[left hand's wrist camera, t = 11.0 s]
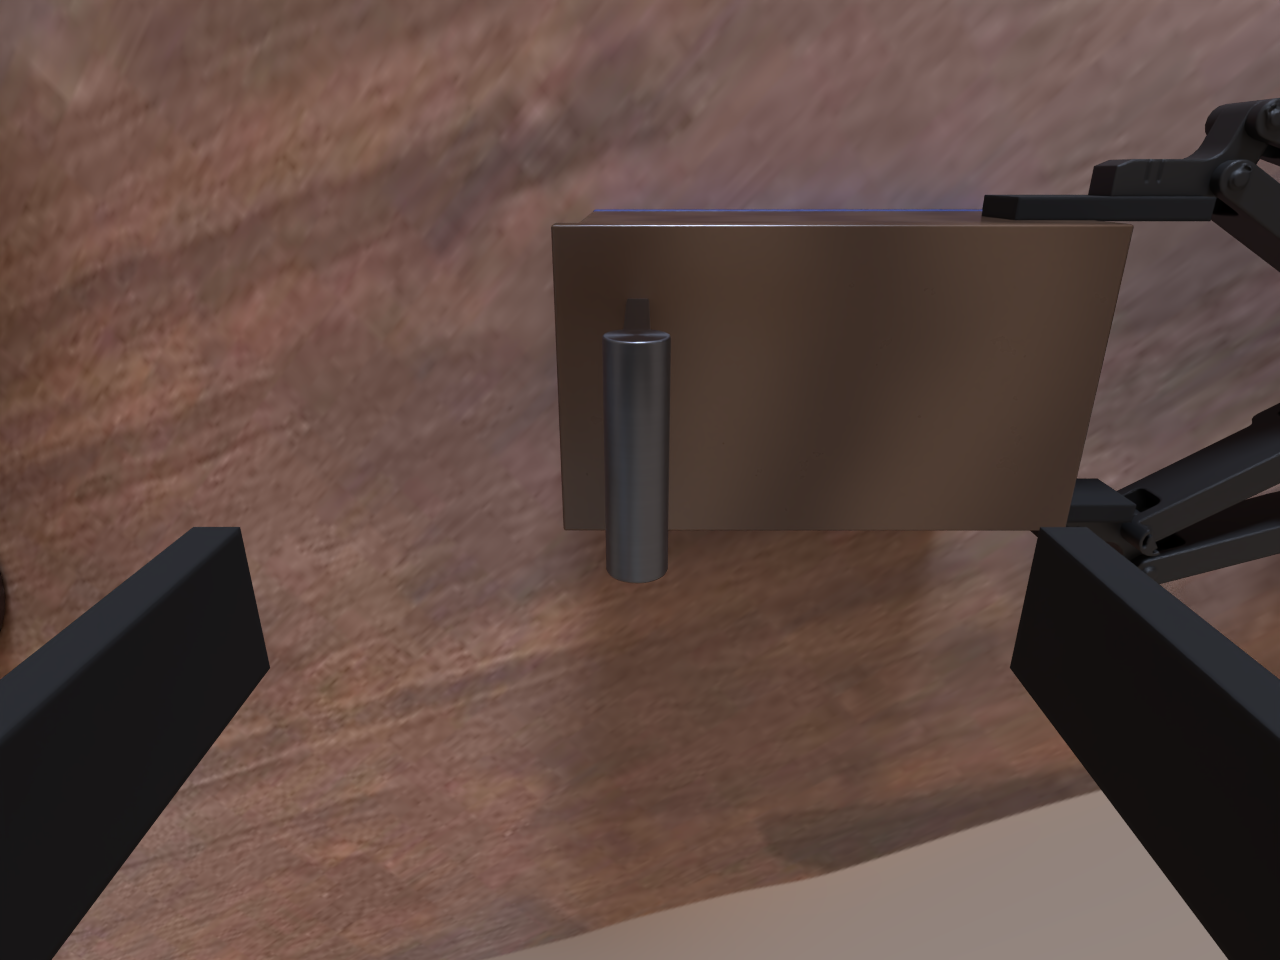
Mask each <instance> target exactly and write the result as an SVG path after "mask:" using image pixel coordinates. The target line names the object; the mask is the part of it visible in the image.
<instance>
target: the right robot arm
mask: <svg viewBox="0 0 1280 960" xmlns="http://www.w3.org/2000/svg"><path fill="white" fill-rule="evenodd" d="M1205 132H1206V134H1207V136H1206V138H1205V139H1204V141H1203V143H1202V144H1201V146H1200V147H1199V149H1198V150H1197V151H1196V152H1195V153H1193V154H1192V155H1190V156H1189V157H1187V158H1184V159H1127V160H1108V161H1106V162H1103V163H1101V164H1098V165H1096V166H1094V169H1093V174H1092V179H1091V184H1090V189H1089V193H1088V195H985V196H984V203H983V209H982V216H984V217H992V218H1000V219H1008V220H1094V221H1211V220H1212V221H1213V222H1215V223H1216V224H1217V225H1219V226H1220V227H1221V228H1223V229H1224V230H1225V231H1226V232H1228V233H1229V234H1230V235H1232V236H1233V237H1234V238H1236V239H1237V240H1238V241H1240V242H1241V243H1242V244H1244V245H1245V246H1246V247H1247V248H1249V249H1250V250H1251V251H1253V252H1254V253H1255V254H1257V255H1258V256H1259V257H1261V258H1262V259H1263V260H1265V261H1266V262H1267V263H1268V264H1270V265H1271V266H1272V267H1274V268H1275V269H1276V270H1278V271H1279V272H1280V184H1279V183H1278V182H1277V181H1276V180H1274V179H1273V178H1272V177H1271V176H1269V175H1268V174H1267V173H1266V172H1264V171H1263V170H1262V169H1261V168H1259V167H1258V166H1257V165H1256V164H1257V162H1258V161H1259V159H1262V160H1264V161H1267V162H1270V163H1272V164H1275V165H1278V166H1280V98H1274V99H1266V100H1257V101H1249V102H1241V103H1232V104H1225V105H1222V106H1219V107H1217V108H1216V109H1215V110H1213V111H1212V113H1211V114H1210V115H1209V117H1208V118H1207V121H1206V124H1205ZM1279 483H1280V403H1279V404H1277V405H1275V406H1273V407H1270V408H1268V409H1266V410H1264V411H1262V412H1260V413H1258V414H1257V415H1255V416H1254V417H1253V418H1252V424H1251V425H1250V426H1249V427H1247V428H1245V429H1242V430H1240V431H1238V432H1236V433H1234V434H1232V435H1230V436H1228V437H1226V438H1224V439H1222V440H1220V441H1218V442H1216V443H1214V444H1212V445H1210V446H1208V447H1206V448H1204V449H1202V450H1200V451H1198V452H1196V453H1194V454H1192V455H1190V456H1187V457H1185V458H1183V459H1181V460H1179V461H1177V462H1175V463H1173V464H1171V465H1169V466H1167V467H1165V468H1163V469H1161V470H1159V471H1157V472H1155V473H1153V474H1151V475H1149V476H1147V477H1145V478H1143V479H1141V480H1139V481H1137V482H1135V483H1132V484H1130V485H1128V486H1126V487H1124V488H1122V489H1120V490H1118V491H1115V490H1114V489H1112V488H1111V487H1109V486H1108V485H1106V484H1105V483H1103V482H1102V481H1100V480H1099V479H1076V483H1075V488H1074V492H1073V497H1072V501H1071V505H1070V510H1069V514H1068V519H1067V523H1066V527H1087V528H1088V529H1090V530H1091V531H1092V532H1094V533H1095V534H1096V535H1097V536H1099V537H1100V538H1101V539H1102V540H1104V541H1105V542H1106V543H1107V544H1109V545H1110V546H1111V547H1113V548H1114V549H1115V550H1116V551H1118V552H1119V553H1120V554H1121V555H1123V556H1124V557H1125V558H1126V559H1128V560H1129V561H1130V562H1131V563H1133V564H1134V565H1135V566H1137V567H1138V568H1139V569H1140V570H1142V571H1143V572H1144V573H1145V574H1147V575H1148V576H1149V577H1150V578H1152V579H1153V580H1154V581H1156V582H1157V583H1158V584H1162V583H1166V582H1170V581H1174V580H1177V579H1181V578H1185V577H1189V576H1193V575H1197V574H1201V573H1205V572H1209V571H1213V570H1217V569H1220V568H1224V567H1228V566H1232V565H1236V564H1240V563H1244V562H1248V561H1252V560H1256V559H1259V558H1263V557H1267V556H1271V555H1275V554H1279V553H1280V491H1278V492H1274V493H1269V494H1265V495H1262V496H1258V497H1254V498H1250V497H1252V496H1254V495H1256V494H1258V493H1260V492H1262V491H1264V490H1267V489H1269V488H1271V487H1273V486H1275V485H1277V484H1279ZM1248 498H1250V499H1248ZM1245 499H1246V500H1245ZM1030 531H1031V532H1032V533H1033V534H1035V535H1036V536H1037V537H1038V534H1039V530H1030Z"/></svg>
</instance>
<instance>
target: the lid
mask: <svg viewBox="0 0 1280 960" xmlns="http://www.w3.org/2000/svg"><path fill="white" fill-rule="evenodd" d="M551 232H552V257H553V281H554V305H555V330H556V354H557V378H558V403H559V427H560V451H561V475H562V500H563V524H564V530H606V569H607V571H608V573H609V574H610V576H612V577H613V578H615V579H617V580H620V581H623V582H628V583H646V582H651V581H654V580H657V579H659V578H661V577H662V576H663V575H664V574H665V573H666V571H667V569H668V530H1039V529H1040V527H1066V523H1067V519H1068V514H1069V510H1070V505H1071V501H1072V497H1073V492H1074V488H1075V483H1076V479H1077V475H1078V470H1079V466H1080V461H1081V457H1082V452H1083V448H1084V444H1085V439H1086V435H1087V430H1088V426H1089V422H1090V417H1091V413H1092V408H1093V404H1094V399H1095V395H1096V391H1097V386H1098V382H1099V377H1100V373H1101V369H1102V364H1103V360H1104V355H1105V351H1106V346H1107V342H1108V338H1109V333H1110V329H1111V324H1112V320H1113V316H1114V311H1115V307H1116V302H1117V298H1118V294H1119V289H1120V285H1121V280H1122V276H1123V271H1124V267H1125V263H1126V258H1127V254H1128V249H1129V245H1130V241H1131V236H1132V232H1133V225H1131V224H1123V223H555V224H553V225H552V227H551Z"/></svg>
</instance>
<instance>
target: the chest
mask: <svg viewBox="0 0 1280 960" xmlns="http://www.w3.org/2000/svg"><path fill="white" fill-rule="evenodd" d="M580 223H1114V222H1104V221H1094V220H1008V219H1000V218H992V217H984V216H982V210H594V211H593V213H591V214H590V215H589V216H588V217H586V218H585V219H584V220H583V221H581V222H580Z"/></svg>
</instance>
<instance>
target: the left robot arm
mask: <svg viewBox="0 0 1280 960" xmlns="http://www.w3.org/2000/svg"><path fill="white" fill-rule="evenodd" d="M4 609H5V597H4V587H3V582H2V577H1V573H0V630H1V627H2V623H3V618H4ZM269 669H270V665H269V661H268V656H267V651H266V647H265V642H264V637H263V633H262V628H261V623H260V618H259V614H258V609H257V604H256V600H255V595H254V590H253V586H252V581H251V576H250V572H249V567H248V562H247V558H246V553H245V548H244V543H243V539H242V534H241V529H240V527H193V528H192V529H190V530H189V531H188V532H186V533H185V534H184V535H183V536H181V537H180V538H179V539H178V540H176V541H175V542H174V543H173V544H171V545H170V546H169V547H167V548H166V549H165V550H164V551H162V552H161V553H160V554H159V555H157V556H156V557H155V558H154V559H152V560H151V561H150V562H149V563H147V564H146V565H145V566H143V567H142V568H141V569H140V570H138V571H137V572H136V573H135V574H133V575H132V576H131V577H130V578H128V579H127V580H126V581H124V582H123V583H122V584H121V585H119V586H118V587H117V588H116V589H114V590H113V591H112V592H111V593H109V594H108V595H107V596H106V597H104V598H103V599H102V600H100V601H99V602H98V603H97V604H95V605H94V606H93V607H92V608H90V609H89V610H88V611H87V612H85V613H84V614H83V615H81V616H80V617H79V618H78V619H76V620H75V621H74V622H73V623H71V624H70V625H69V626H68V627H66V628H65V629H64V630H62V631H61V632H60V633H59V634H57V635H56V636H55V637H54V638H52V639H51V640H50V641H49V642H47V643H46V644H45V645H44V646H42V647H41V648H40V649H38V650H37V651H36V652H35V653H33V654H32V655H31V656H30V657H28V658H27V659H26V660H25V661H23V662H22V663H21V664H19V665H18V666H17V667H16V668H14V669H13V670H12V671H11V672H9V673H8V674H7V675H6V676H4V677H3V678H2V679H1V680H0V960H52V958H53V957H54V956H55V954H56V953H57V952H58V950H59V949H60V948H61V946H62V945H63V944H64V942H65V941H66V940H67V938H68V937H69V936H70V934H71V933H72V932H73V930H74V929H75V928H76V926H77V925H78V924H79V922H80V921H81V920H82V918H83V917H84V916H85V914H86V913H87V912H88V910H89V909H90V908H91V906H92V905H93V904H94V902H95V901H96V900H97V898H98V897H99V896H100V894H101V893H102V892H103V890H104V889H105V888H106V886H107V885H108V884H109V882H110V881H111V880H112V878H113V877H114V876H115V874H116V873H117V872H118V870H119V869H120V868H121V866H122V865H123V864H124V862H125V861H126V860H127V858H128V857H129V856H130V854H131V853H132V852H133V850H134V849H135V848H136V846H137V845H138V844H139V842H140V841H141V840H142V838H143V837H144V836H145V834H146V833H147V832H148V830H149V829H150V828H151V826H152V825H153V823H154V822H155V821H156V819H157V818H158V817H159V815H160V814H161V813H162V811H163V810H164V809H165V807H166V806H167V805H168V803H169V802H170V801H171V799H172V798H173V797H174V795H175V794H176V793H177V791H178V790H179V789H180V787H181V786H182V785H183V783H184V782H185V781H186V779H187V778H188V777H189V775H190V774H191V773H192V771H193V770H194V769H195V767H196V766H197V765H198V763H199V762H200V761H201V759H202V758H203V757H204V755H205V754H206V753H207V751H208V750H209V749H210V747H211V746H212V745H213V743H214V742H215V741H216V739H217V738H218V737H219V735H220V734H221V733H222V731H223V730H224V729H225V727H226V726H227V725H228V723H229V722H230V721H231V719H232V718H233V717H234V715H235V714H236V713H237V711H238V710H239V709H240V707H241V706H242V705H243V703H244V702H245V701H246V699H247V698H248V697H249V695H250V694H251V693H252V691H253V690H254V689H255V687H256V686H257V685H258V683H259V682H260V681H261V679H262V678H263V677H264V675H265V674H266V673H267V671H268V670H269ZM1010 669H1011V670H1012V671H1013V673H1014V674H1015V675H1016V677H1017V678H1018V679H1019V681H1020V682H1021V683H1022V685H1023V686H1024V687H1025V689H1026V690H1027V691H1028V693H1029V694H1030V695H1031V697H1032V698H1033V699H1034V701H1035V702H1036V703H1037V705H1038V706H1039V707H1040V709H1041V710H1042V711H1043V713H1044V714H1045V715H1046V717H1047V718H1048V719H1049V721H1050V722H1051V723H1052V725H1053V726H1054V727H1055V729H1056V730H1057V731H1058V733H1059V734H1060V735H1061V737H1062V738H1063V739H1064V741H1065V742H1066V743H1067V745H1068V746H1069V747H1070V749H1071V750H1072V751H1073V753H1074V754H1075V755H1076V757H1077V758H1078V759H1079V761H1080V762H1081V763H1082V765H1083V766H1084V767H1085V769H1086V770H1087V771H1088V773H1089V774H1090V775H1091V777H1092V778H1093V779H1094V781H1095V782H1096V783H1097V785H1098V786H1099V787H1100V789H1101V790H1102V791H1103V793H1104V794H1105V795H1106V797H1107V798H1108V799H1109V801H1110V802H1111V803H1112V805H1113V806H1114V807H1115V809H1116V810H1117V811H1118V813H1119V814H1120V815H1121V817H1122V818H1123V819H1124V821H1125V822H1126V823H1127V825H1128V826H1129V828H1130V829H1131V830H1132V831H1133V833H1134V834H1135V835H1136V837H1137V838H1138V840H1139V841H1140V842H1141V844H1142V845H1143V846H1144V848H1145V849H1146V850H1147V852H1148V853H1149V854H1150V856H1151V857H1152V858H1153V860H1154V861H1155V862H1156V864H1157V865H1158V866H1159V868H1160V869H1161V870H1162V871H1163V873H1164V874H1165V876H1166V877H1167V878H1168V880H1169V881H1170V882H1171V884H1172V885H1173V886H1174V888H1175V889H1176V890H1177V891H1178V893H1179V894H1180V896H1181V897H1182V898H1183V900H1184V901H1185V902H1186V904H1187V905H1188V906H1189V908H1190V909H1191V910H1192V911H1193V913H1194V914H1195V916H1196V917H1197V918H1198V920H1199V921H1200V922H1201V924H1202V925H1203V926H1204V928H1205V929H1206V930H1207V932H1208V933H1209V934H1210V936H1211V937H1212V938H1213V940H1214V941H1215V942H1216V944H1217V945H1218V946H1219V948H1220V949H1221V950H1222V952H1223V953H1224V954H1225V956H1226V957H1227V958H1228V960H1280V680H1279V679H1278V678H1277V677H1276V676H1274V675H1273V674H1272V673H1271V672H1269V671H1268V670H1267V669H1266V668H1264V667H1263V666H1262V665H1261V664H1259V663H1258V662H1257V661H1255V660H1254V659H1253V658H1252V657H1250V656H1249V655H1248V654H1247V653H1245V652H1244V651H1243V650H1242V649H1240V648H1239V647H1238V646H1236V645H1235V644H1234V643H1233V642H1231V641H1230V640H1229V639H1228V638H1226V637H1225V636H1224V635H1223V634H1221V633H1220V632H1219V631H1218V630H1216V629H1215V628H1214V627H1212V626H1211V625H1210V624H1209V623H1207V622H1206V621H1205V620H1204V619H1202V618H1201V617H1200V616H1199V615H1197V614H1196V613H1195V612H1193V611H1192V610H1191V609H1190V608H1188V607H1187V606H1186V605H1185V604H1183V603H1182V602H1181V601H1180V600H1178V599H1177V598H1176V597H1174V596H1173V595H1172V594H1171V593H1169V592H1168V591H1167V590H1166V589H1164V588H1163V587H1162V586H1161V585H1159V584H1158V583H1157V582H1156V581H1154V580H1153V579H1152V578H1150V577H1149V576H1148V575H1147V574H1145V573H1144V572H1143V571H1142V570H1140V569H1139V568H1138V567H1137V566H1135V565H1134V564H1133V563H1131V562H1130V561H1129V560H1128V559H1126V558H1125V557H1124V556H1123V555H1121V554H1120V553H1119V552H1118V551H1116V550H1115V549H1114V548H1113V547H1111V546H1110V545H1109V544H1107V543H1106V542H1105V541H1104V540H1102V539H1101V538H1100V537H1099V536H1097V535H1096V534H1095V533H1094V532H1092V531H1091V530H1090V529H1088V528H1087V527H1040V529H1039V534H1038V539H1037V543H1036V548H1035V553H1034V558H1033V562H1032V567H1031V572H1030V576H1029V581H1028V586H1027V590H1026V595H1025V600H1024V604H1023V609H1022V614H1021V618H1020V623H1019V628H1018V633H1017V637H1016V642H1015V647H1014V651H1013V656H1012V661H1011V665H1010Z"/></svg>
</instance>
